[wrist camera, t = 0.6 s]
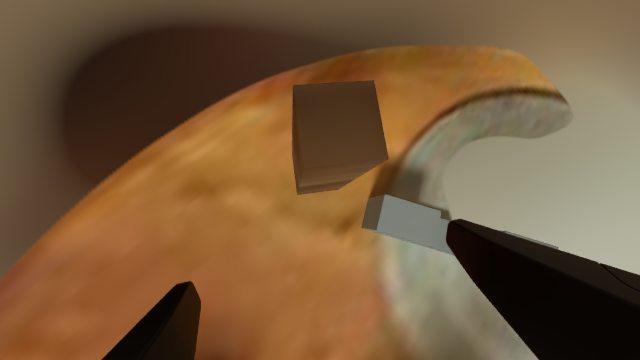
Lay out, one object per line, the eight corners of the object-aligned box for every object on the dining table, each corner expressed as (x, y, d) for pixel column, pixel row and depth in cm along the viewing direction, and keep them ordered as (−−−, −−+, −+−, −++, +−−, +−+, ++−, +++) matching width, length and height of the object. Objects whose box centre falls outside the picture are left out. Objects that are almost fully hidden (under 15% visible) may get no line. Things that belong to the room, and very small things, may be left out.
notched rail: (511, 271, 23) (555, 282, 19) (361, 228, 22) (376, 230, 18) (514, 242, 24) (558, 247, 20) (368, 198, 23) (384, 194, 19)
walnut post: (338, 189, 23) (388, 158, 11) (297, 194, 22) (303, 168, 10) (332, 150, 23) (373, 80, 11) (292, 154, 23) (292, 85, 11)
